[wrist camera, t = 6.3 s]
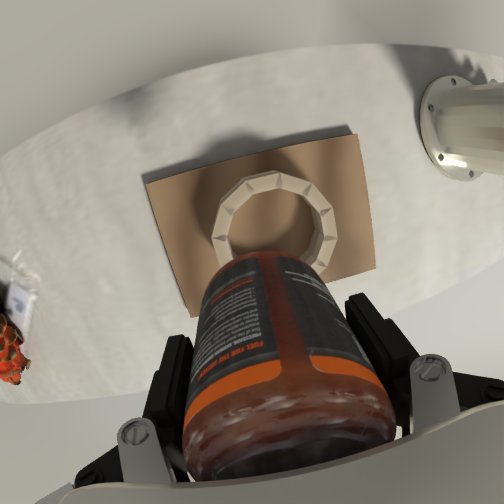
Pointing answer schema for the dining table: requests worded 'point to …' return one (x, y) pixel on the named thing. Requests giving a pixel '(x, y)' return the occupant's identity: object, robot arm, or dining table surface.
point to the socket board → (268, 212)
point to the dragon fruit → (11, 353)
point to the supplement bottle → (277, 375)
